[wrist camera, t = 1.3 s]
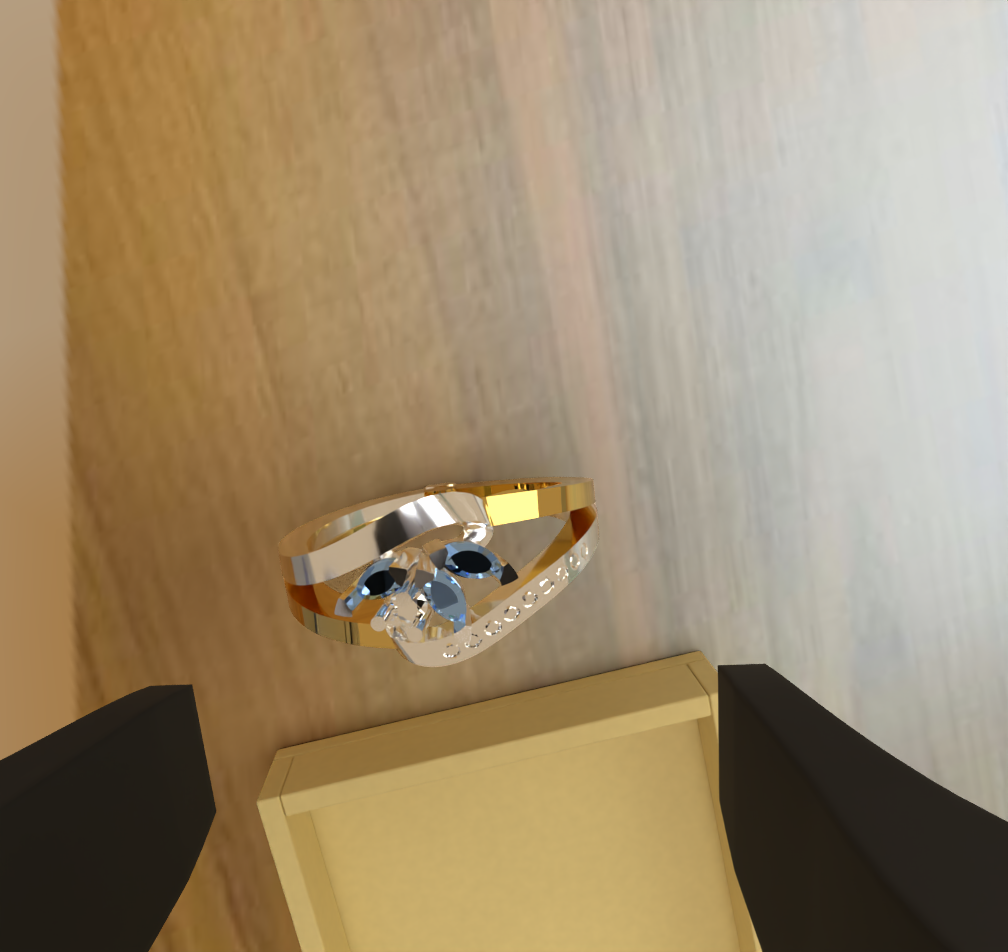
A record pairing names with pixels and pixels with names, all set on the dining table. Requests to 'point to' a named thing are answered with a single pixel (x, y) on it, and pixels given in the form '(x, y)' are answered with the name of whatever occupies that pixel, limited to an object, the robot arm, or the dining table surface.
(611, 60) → the dining table surface
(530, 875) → the yellow tray
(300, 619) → the ring
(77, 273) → the dining table surface
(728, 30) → the dining table surface
